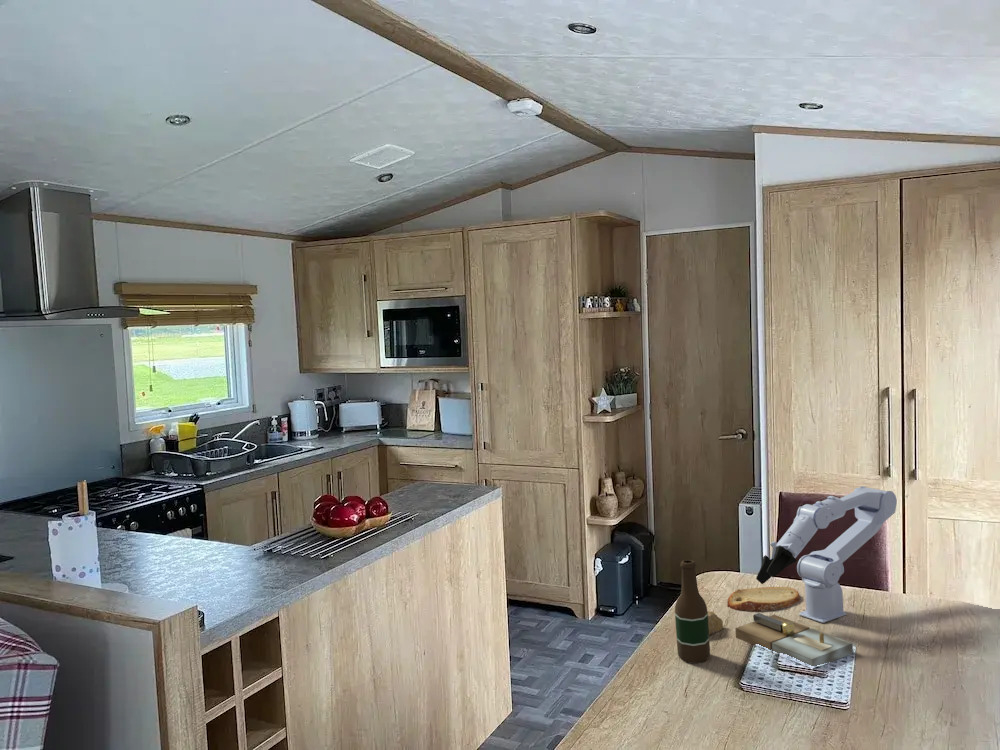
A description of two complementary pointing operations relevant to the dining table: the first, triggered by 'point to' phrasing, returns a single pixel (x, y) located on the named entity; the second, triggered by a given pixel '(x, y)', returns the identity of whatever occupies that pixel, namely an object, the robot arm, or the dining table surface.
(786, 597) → the slice of bread
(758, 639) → the door mockup
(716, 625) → the stone tool
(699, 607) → the beer bottle
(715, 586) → the dining table surface
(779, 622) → the bar
